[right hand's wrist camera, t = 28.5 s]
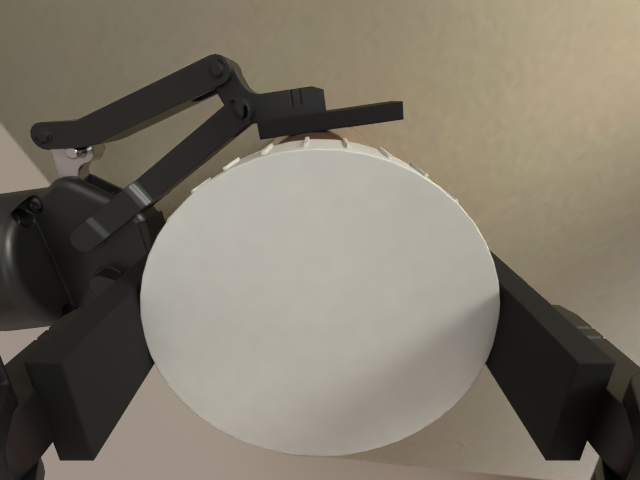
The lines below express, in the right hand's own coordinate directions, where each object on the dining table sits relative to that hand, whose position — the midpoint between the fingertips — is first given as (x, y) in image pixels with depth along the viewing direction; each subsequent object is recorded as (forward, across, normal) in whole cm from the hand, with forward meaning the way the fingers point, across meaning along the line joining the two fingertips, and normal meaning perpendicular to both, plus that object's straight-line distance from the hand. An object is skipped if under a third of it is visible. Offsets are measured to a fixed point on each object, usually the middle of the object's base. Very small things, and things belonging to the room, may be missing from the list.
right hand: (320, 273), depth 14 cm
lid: (-3, 0, 0) cm, 3 cm away
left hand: (+6, -4, -1) cm, 8 cm away
